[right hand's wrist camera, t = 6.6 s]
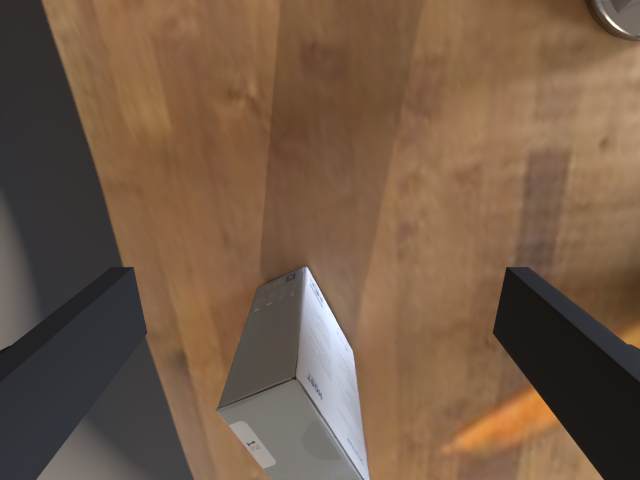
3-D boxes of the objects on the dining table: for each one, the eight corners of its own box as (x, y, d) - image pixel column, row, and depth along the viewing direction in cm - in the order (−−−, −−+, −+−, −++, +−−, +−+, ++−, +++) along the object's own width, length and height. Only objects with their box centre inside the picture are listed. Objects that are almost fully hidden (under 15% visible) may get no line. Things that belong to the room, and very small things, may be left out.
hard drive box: (255, 286, 47) (211, 407, 28) (306, 263, 45) (297, 373, 27) (307, 371, 52) (300, 521, 33) (355, 352, 50) (376, 497, 32)
